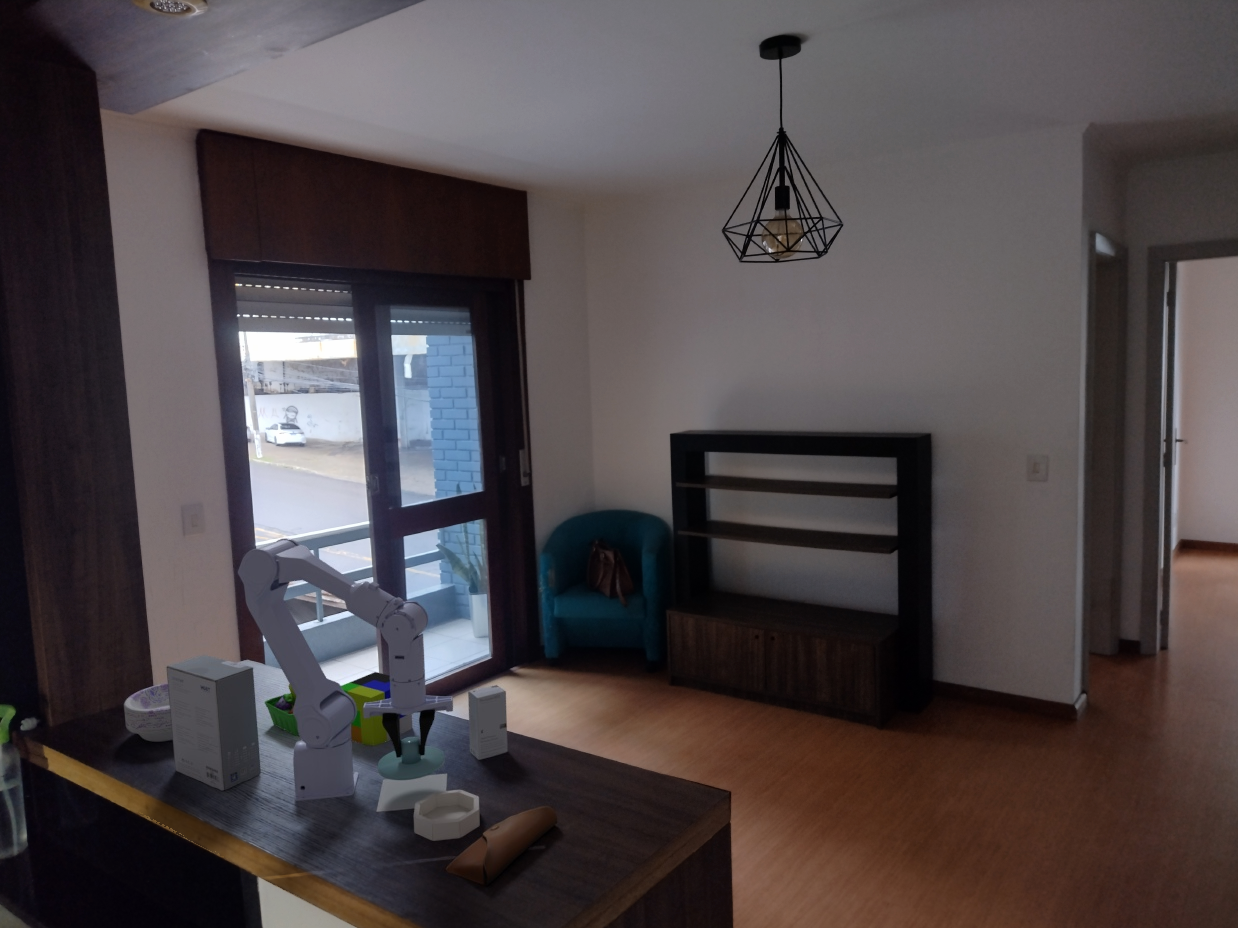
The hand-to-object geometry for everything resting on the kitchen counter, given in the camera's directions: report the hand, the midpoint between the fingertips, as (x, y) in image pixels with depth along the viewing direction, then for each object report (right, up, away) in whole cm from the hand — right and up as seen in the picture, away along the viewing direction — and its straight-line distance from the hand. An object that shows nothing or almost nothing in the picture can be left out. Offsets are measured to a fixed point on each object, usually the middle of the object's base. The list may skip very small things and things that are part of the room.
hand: (410, 753), depth 145 cm
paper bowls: (-55, -5, +28) cm, 62 cm away
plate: (0, -7, +1) cm, 7 cm away
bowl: (+8, -8, -9) cm, 15 cm away
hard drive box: (-37, -7, +10) cm, 39 cm away
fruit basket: (-30, -5, +30) cm, 43 cm away
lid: (0, -2, 0) cm, 2 cm away
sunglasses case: (+18, -10, -16) cm, 26 cm away
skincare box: (+11, -5, +16) cm, 20 cm away
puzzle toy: (-13, -5, +26) cm, 29 cm away
